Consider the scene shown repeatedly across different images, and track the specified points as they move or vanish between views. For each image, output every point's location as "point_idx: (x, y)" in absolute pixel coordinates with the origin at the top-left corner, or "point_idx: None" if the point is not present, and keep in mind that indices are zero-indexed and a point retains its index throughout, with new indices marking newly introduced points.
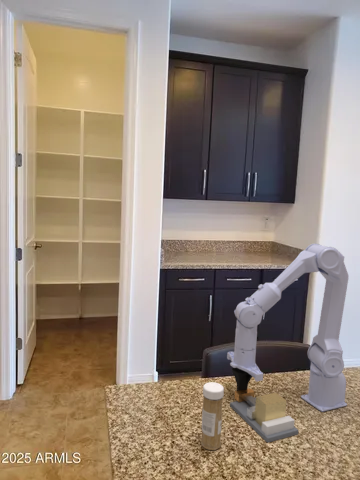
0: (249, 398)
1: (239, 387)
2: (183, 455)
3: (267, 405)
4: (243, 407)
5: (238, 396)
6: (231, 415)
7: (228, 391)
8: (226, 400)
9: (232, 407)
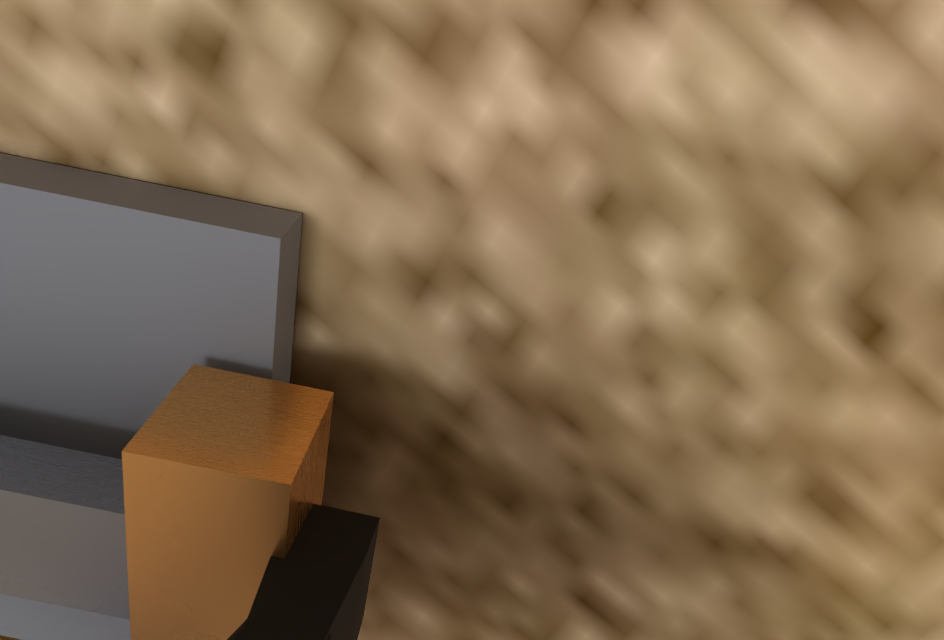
0: (23, 530)
1: (250, 622)
2: None
3: None
4: (48, 326)
5: (156, 425)
6: (23, 17)
7: (694, 508)
8: (488, 292)
9: (204, 201)
